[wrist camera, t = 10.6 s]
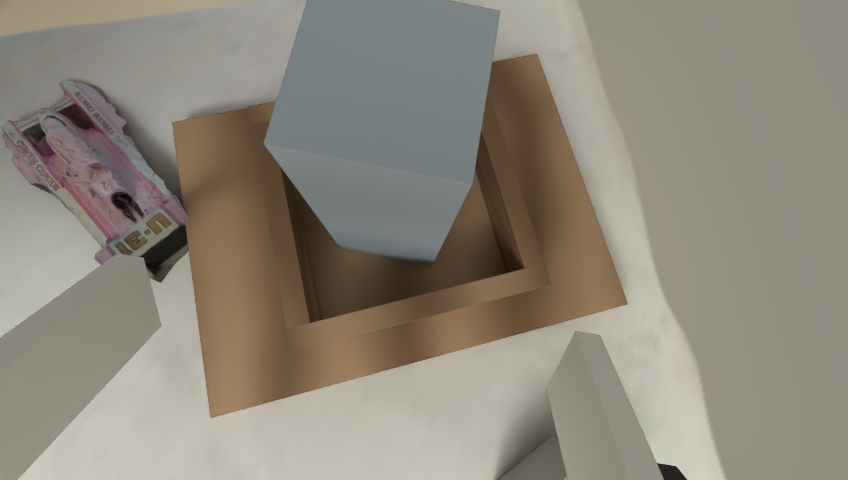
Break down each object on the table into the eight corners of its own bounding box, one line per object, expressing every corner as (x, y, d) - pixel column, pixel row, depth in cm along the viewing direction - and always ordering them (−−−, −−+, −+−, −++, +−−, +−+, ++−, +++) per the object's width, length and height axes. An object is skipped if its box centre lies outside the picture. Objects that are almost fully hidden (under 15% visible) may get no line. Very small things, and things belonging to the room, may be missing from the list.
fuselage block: (432, 265, 21) (472, 183, 9) (340, 248, 21) (263, 143, 9) (447, 179, 22) (500, 10, 10) (360, 163, 22) (315, -26, 10)
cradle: (220, 413, 19) (175, 434, 16) (181, 131, 23) (136, 90, 19) (617, 305, 22) (664, 299, 18) (531, 64, 25) (555, 16, 21)
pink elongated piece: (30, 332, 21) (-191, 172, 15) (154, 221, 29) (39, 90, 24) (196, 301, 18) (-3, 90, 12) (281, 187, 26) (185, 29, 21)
